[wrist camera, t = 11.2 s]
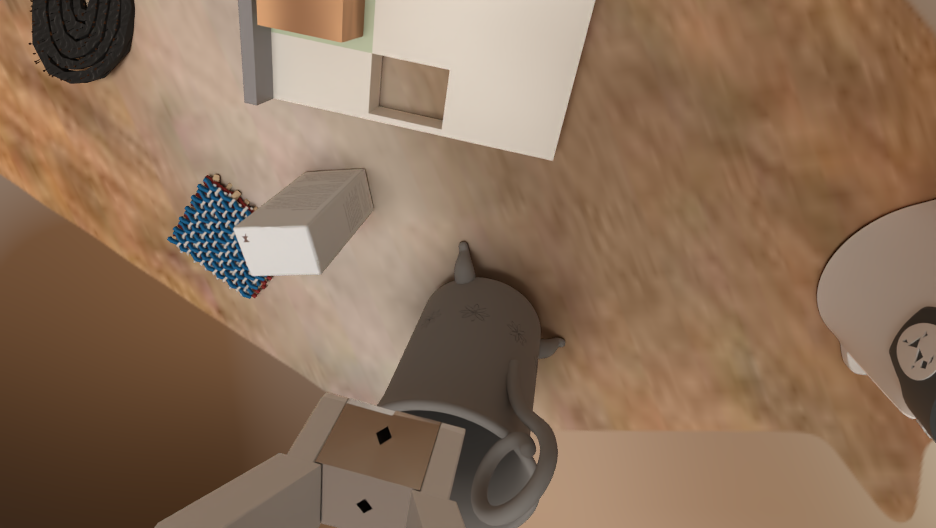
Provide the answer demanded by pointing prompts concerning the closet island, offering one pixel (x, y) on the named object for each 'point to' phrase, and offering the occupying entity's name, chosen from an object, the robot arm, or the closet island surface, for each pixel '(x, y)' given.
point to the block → (314, 17)
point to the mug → (481, 393)
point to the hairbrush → (81, 36)
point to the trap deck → (440, 45)
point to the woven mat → (207, 240)
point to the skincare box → (305, 223)
